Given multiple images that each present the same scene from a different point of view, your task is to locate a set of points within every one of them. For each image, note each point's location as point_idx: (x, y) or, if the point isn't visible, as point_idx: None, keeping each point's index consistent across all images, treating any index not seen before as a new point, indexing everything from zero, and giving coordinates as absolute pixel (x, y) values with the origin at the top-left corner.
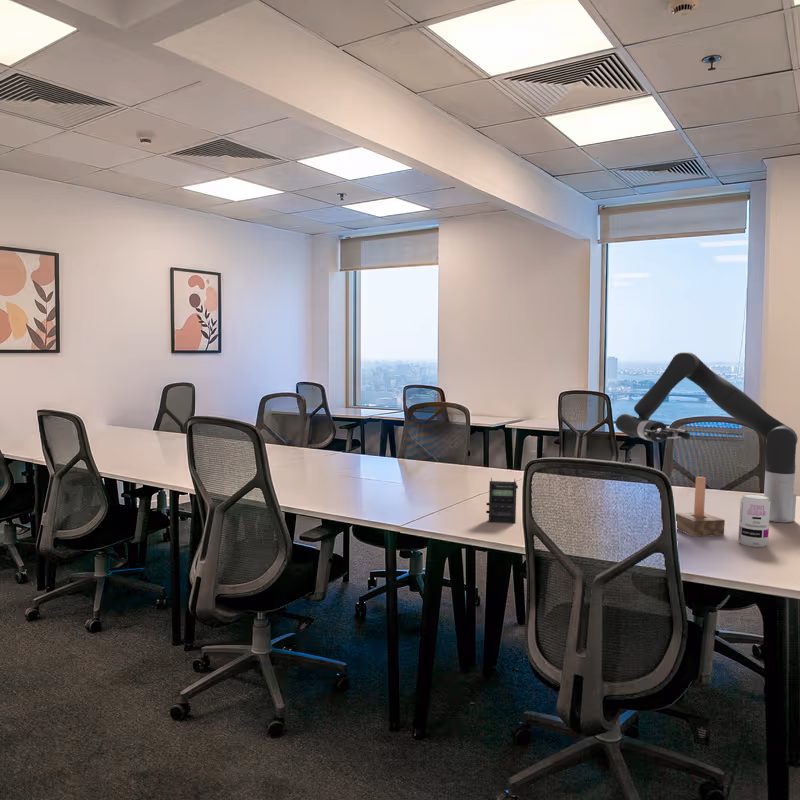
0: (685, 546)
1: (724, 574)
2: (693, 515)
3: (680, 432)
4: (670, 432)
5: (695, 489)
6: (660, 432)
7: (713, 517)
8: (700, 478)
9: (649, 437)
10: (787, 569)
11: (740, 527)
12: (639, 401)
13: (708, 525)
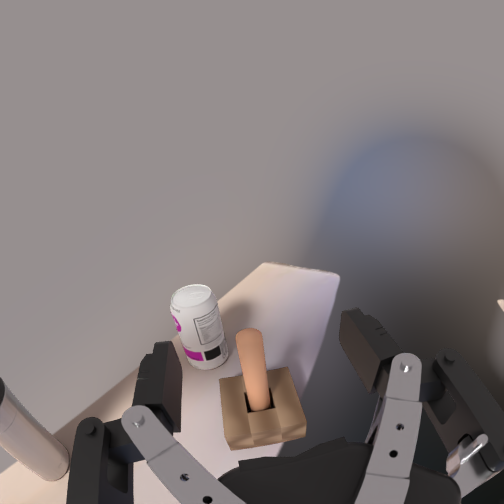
0: (320, 338)
1: (306, 276)
2: (266, 410)
3: (111, 496)
4: (253, 468)
5: (264, 360)
6: (388, 347)
7: (231, 394)
8: (255, 329)
9: (450, 403)
10: (235, 291)
11: (224, 338)
12: None
13: None
